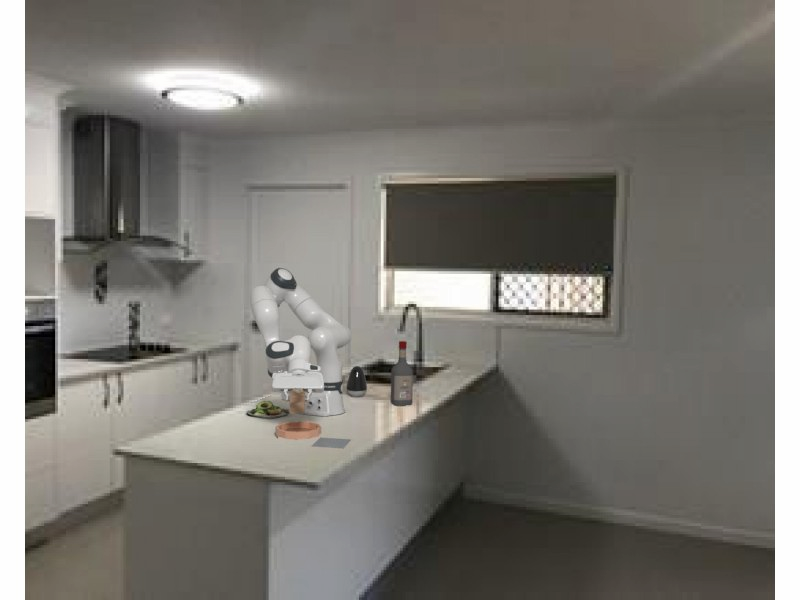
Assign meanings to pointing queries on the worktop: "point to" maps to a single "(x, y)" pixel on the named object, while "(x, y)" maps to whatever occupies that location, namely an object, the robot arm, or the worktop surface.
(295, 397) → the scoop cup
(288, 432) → the bowl
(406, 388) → the liquor
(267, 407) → the salad plate
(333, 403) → the robot arm
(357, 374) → the black egg-shaped dome
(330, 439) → the parts tray
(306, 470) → the worktop surface
